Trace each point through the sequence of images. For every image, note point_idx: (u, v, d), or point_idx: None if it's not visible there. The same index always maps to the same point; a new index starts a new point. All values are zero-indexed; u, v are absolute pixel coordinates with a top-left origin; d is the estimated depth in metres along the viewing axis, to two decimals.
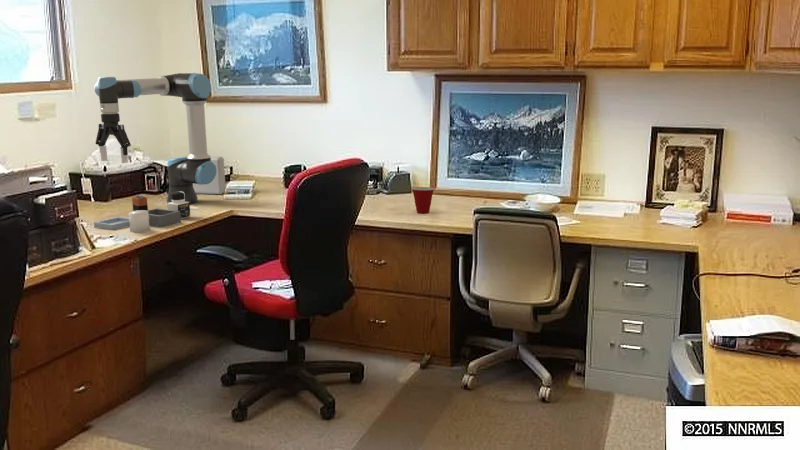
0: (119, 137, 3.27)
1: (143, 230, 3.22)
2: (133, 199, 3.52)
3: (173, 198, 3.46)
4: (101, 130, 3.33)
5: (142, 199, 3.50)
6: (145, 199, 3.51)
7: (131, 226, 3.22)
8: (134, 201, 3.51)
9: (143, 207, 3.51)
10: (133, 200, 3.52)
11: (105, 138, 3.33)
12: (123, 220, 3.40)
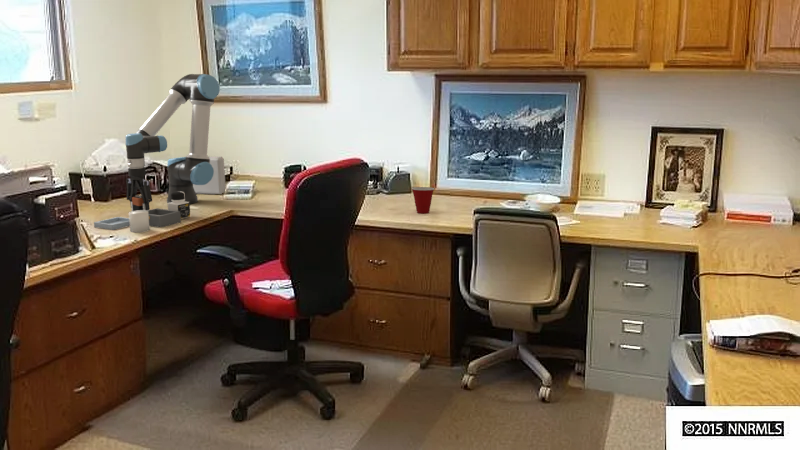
0: (143, 192, 3.49)
1: (143, 230, 3.22)
2: (133, 199, 3.52)
3: (173, 198, 3.46)
4: (129, 185, 3.53)
5: (142, 199, 3.50)
6: None
7: (131, 226, 3.22)
8: (134, 201, 3.51)
9: None
10: (133, 200, 3.52)
11: (134, 193, 3.53)
12: (123, 220, 3.40)
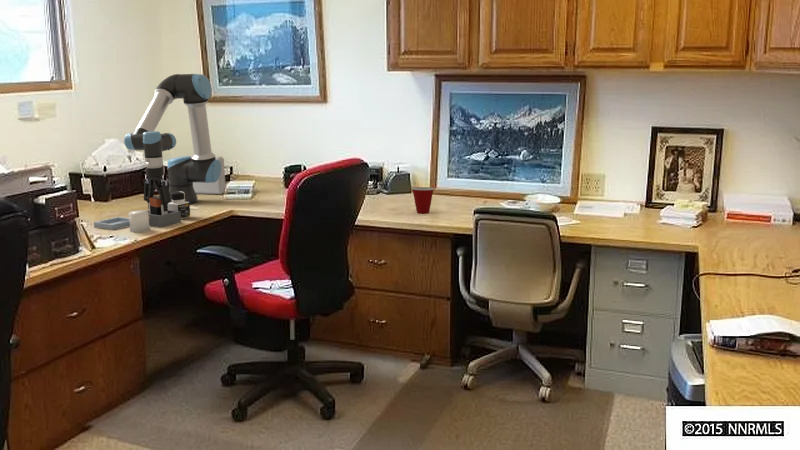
0: (161, 193, 3.34)
1: (143, 230, 3.22)
2: (150, 200, 3.36)
3: (173, 198, 3.46)
4: (146, 185, 3.38)
5: (160, 200, 3.34)
6: None
7: (131, 226, 3.22)
8: (151, 202, 3.36)
9: None
10: (150, 201, 3.37)
11: (152, 193, 3.38)
12: (123, 220, 3.40)
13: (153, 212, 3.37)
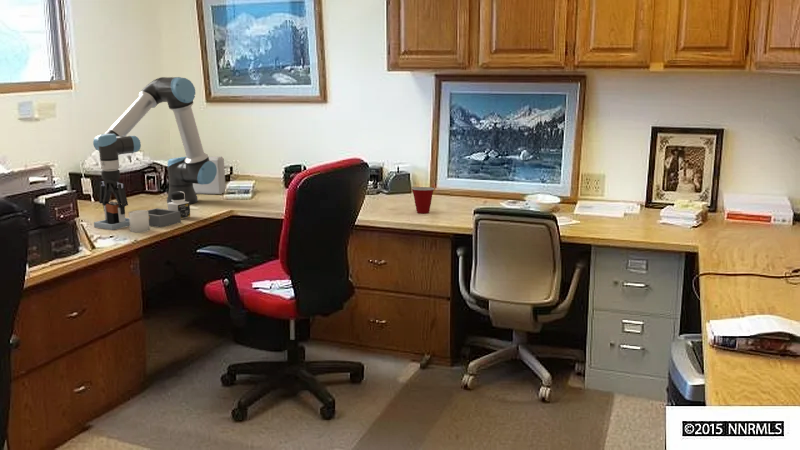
0: (118, 196, 3.29)
1: (143, 230, 3.22)
2: (107, 206, 3.33)
3: (173, 198, 3.46)
4: (102, 188, 3.34)
5: (116, 206, 3.31)
6: None
7: (131, 226, 3.22)
8: (108, 209, 3.32)
9: None
10: (107, 207, 3.33)
11: (107, 196, 3.34)
12: None
13: (110, 218, 3.33)
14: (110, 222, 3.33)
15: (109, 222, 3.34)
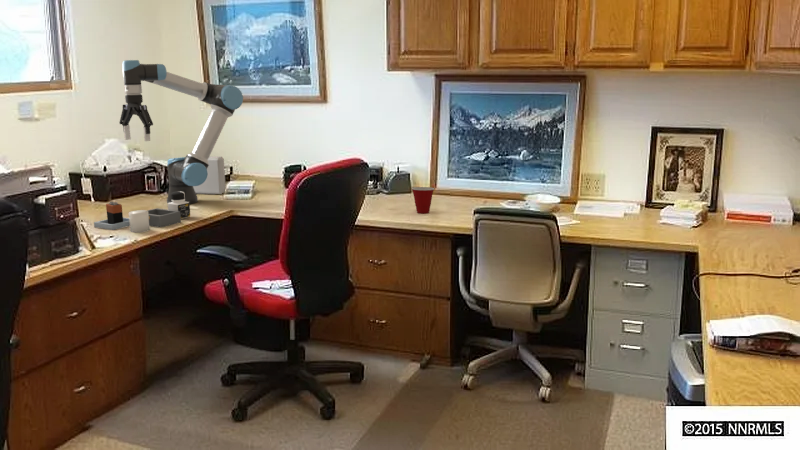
0: (142, 117, 3.48)
1: (143, 230, 3.22)
2: (107, 206, 3.33)
3: (173, 198, 3.46)
4: (125, 110, 3.53)
5: (116, 206, 3.31)
6: (120, 206, 3.32)
7: (131, 226, 3.22)
8: (108, 209, 3.32)
9: (118, 214, 3.32)
10: (107, 207, 3.33)
11: (128, 118, 3.54)
12: (123, 220, 3.40)
13: (110, 218, 3.33)
14: (110, 222, 3.33)
15: (109, 222, 3.34)
